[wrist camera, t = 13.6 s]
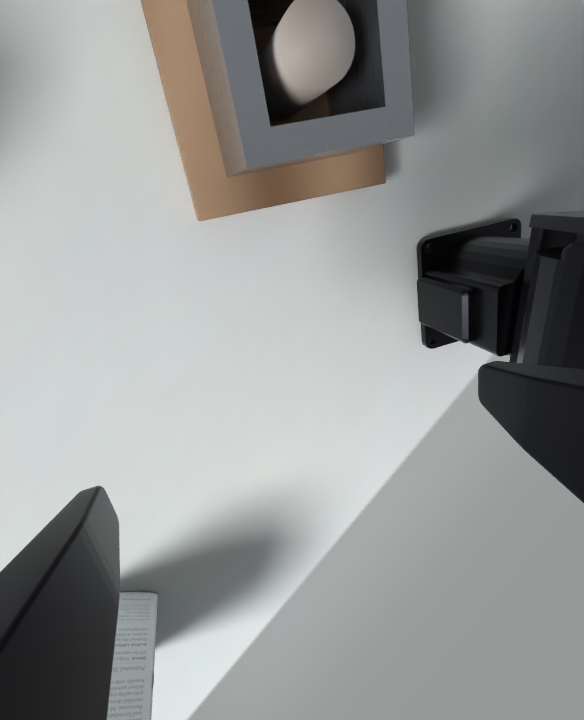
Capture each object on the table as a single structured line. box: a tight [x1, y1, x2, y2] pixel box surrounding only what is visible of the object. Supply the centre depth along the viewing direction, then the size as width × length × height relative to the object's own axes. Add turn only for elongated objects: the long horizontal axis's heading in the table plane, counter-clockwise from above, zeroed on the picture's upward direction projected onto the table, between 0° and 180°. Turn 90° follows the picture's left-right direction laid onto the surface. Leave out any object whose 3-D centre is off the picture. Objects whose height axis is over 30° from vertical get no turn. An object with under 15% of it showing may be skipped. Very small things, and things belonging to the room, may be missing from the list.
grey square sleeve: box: [187, 0, 414, 178], centre depth 15 cm, size 6×6×5 cm
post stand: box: [141, 0, 386, 221], centre depth 15 cm, size 9×9×6 cm
